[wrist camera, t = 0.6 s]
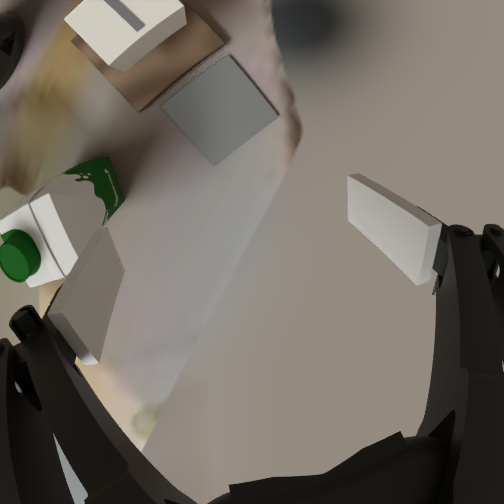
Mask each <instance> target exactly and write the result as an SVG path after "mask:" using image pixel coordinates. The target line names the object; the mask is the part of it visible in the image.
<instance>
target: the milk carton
mask: <svg viewBox="0 0 504 504" xmlns="http://www.w3.org/2000/svg"><path fill="white" fill-rule="evenodd" d="M123 202H124V199H123V197H122V194H121V191H120V189H119V186H118V183H117V180H116V177H115V175H114V172H113V169H112V166H111V163H110V160H109V157H106V158H102V159H98V160H94V161H90V162H86V163H83V164H80V165H77V166H75V167H73V168H71V169H69V170H67V171H65V172H63V173H61V174H60V175H58V176H56V177H55V178H53V179H51V180H50V181H48V182H47V183H45V184H43V185H42V186H40V187H39V188H37V189H36V190H34V191H33V192H31V193H30V194H29V195H27V196H26V197H25V198H24V199H22V200H21V201H20V202H18V203H17V204H16V205H15V206H14V207H13V208H11V209H10V210H9V211H8V212H7V213H6V214H5V215H4V216H3V217H2V218H1V219H0V233H1V237H2V239H3V241H4V243H3V244H2V245H1V246H0V267H1V269H2V271H3V272H4V273H5V275H6V276H7V277H8V278H9V279H11V280H13V281H15V282H19V283H20V282H24V281H26V282H27V284H28V285H29V287H30V288H31V287H35V286H38V285H41V284H44V283H47V282H50V281H53V280H58V279H61V278H63V277H65V276H66V275H68V274H69V273H70V271H71V269H72V268H73V266H74V264H75V262H76V261H77V259H78V257H79V256H80V254H81V253H82V251H83V249H84V248H85V246H86V245H87V243H88V242H89V240H90V238H91V237H92V235H93V234H94V232H95V231H97V230H101V229H102V228H103V226H104V225H105V224H106V222H107V221H108V220H109V219H110V217H111V216H112V215H113V214H114V212H115V211H116V210H117V209H118V208H119V207H120V205H121V204H122V203H123Z"/></svg>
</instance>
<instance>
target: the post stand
mask: <svg viewBox="0 0 504 504" xmlns="http://www.w3.org/2000/svg"><path fill="white" fill-rule="evenodd" d="M179 1H180V2H181V3H182V4H183V5H184V8H185V15H186V22H187V24H186V25H185V26H183V27H182V28H180V29H179V30H177V31H176V32H175V33H173V34H172V35H170V36H169V37H168V38H166V39H165V40H164V41H162V42H161V43H160V44H159V45H157V46H156V47H155V48H154V49H152V50H151V51H150V52H149V53H147V54H146V55H145V56H144V57H143V58H141V59H140V60H139V61H138V62H137V63H136V64H134V65H133V66H132V67H131V68H130V69H129V70H128V71H127V72H126V73H125V72H122V71H120V70H118V69H115V68H113V67H111V66H109V65H108V64H107V63H106V62H105V61H104V60H103V59H102V58H101V57H100V56H99V55H98V54H97V53H96V52H95V51H94V50H93V49H92V48H91V47H90V46H89V45H88V44H87V43H86V42H85V41H84V40H83V39H82V37H81V36H80V35H79V34H77V35H76V36H75V37H74V38H73V39H72V40H71V42H72V43H73V44H74V45H75V46H76V47H77V48H78V49H79V50H80V51H81V52H82V53H83V54H84V55H85V56H86V57H87V58H88V60H89V61H90V62H91V63H92V64H93V65H94V66H95V67H96V68H97V69H98V70H99V71H100V72H101V73H102V74H103V75H104V76H105V78H106V79H107V80H108V81H109V82H110V83H111V84H112V85H113V86H114V87H115V88H116V89H117V90H118V91H119V92H120V94H121V95H122V96H123V97H124V98H125V99H126V100H127V101H128V102H129V103H130V104H131V105H132V106H133V107H134V109H135V110H136V111H137V112H141V111H142V110H143V109H144V108H145V107H146V106H147V105H148V104H149V103H150V102H152V101H153V100H154V99H155V98H156V97H157V96H158V95H160V94H161V93H162V92H163V91H164V90H165V89H167V88H168V87H169V86H170V85H171V84H173V83H174V82H175V81H176V80H178V79H179V78H180V77H181V76H183V75H184V74H185V73H186V72H188V71H189V70H190V69H192V68H193V67H194V66H196V65H197V64H198V63H200V62H201V61H203V60H204V59H205V58H207V57H208V56H210V55H211V54H212V53H214V52H215V51H217V50H218V49H220V48H221V47H223V46H224V44H225V43H224V42H223V41H222V40H221V38H220V37H219V36H218V35H217V34H216V33H215V32H214V31H213V30H212V29H211V28H210V27H209V26H208V25H207V24H206V23H205V22H204V21H203V20H202V19H201V18H200V17H199V16H198V15H197V14H196V13H195V12H194V11H193V10H192V9H191V8H190V7H189V6H188V5H187V4H186V3H185V2H184V1H183V0H179Z"/></svg>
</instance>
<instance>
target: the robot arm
mask: <svg viewBox="0 0 504 504" xmlns="http://www.w3.org/2000/svg"><path fill="white" fill-rule="evenodd" d="M24 35H25V32H24V25H23V22H22V21H21V19H20V18H19V17H17V16H15V15H12V14H9V13H1V14H0V89H1V88H2V86H3V85H4V84H5V83H6V81H7V80H8V79H9V77H10V75H11V74H12V72H13V70H14V68H15V66H16V64H17V62H18V60H19V57H20V54H21V51H22V48H23V43H24ZM347 178H348V221H349V222H351V223H352V224H353V225H354V226H355V227H356V228H357V229H359V230H360V231H361V232H362V233H363V234H364V235H365V236H366V237H367V238H368V239H369V240H371V241H372V242H373V243H374V244H375V245H376V246H377V247H378V248H379V249H380V250H381V251H382V252H383V253H385V254H386V255H387V256H388V257H389V258H390V259H391V260H392V261H393V262H394V263H395V264H396V265H397V266H398V267H399V268H400V269H401V270H402V271H403V272H404V273H405V274H406V275H407V276H408V277H409V278H410V279H411V280H412V281H413V282H414V283H415V284H416V285H417V286H418V285H420V284H423V283H425V282H428V281H430V277H431V273H432V269H434V270H435V271H436V272H437V273H438V275H437V279H436V282H435V286H434V289H433V293H432V295H434V294H435V292H436V328H435V344H434V355H433V366H432V373H431V381H430V389H429V394H428V401H427V406H426V411H425V415H424V419H423V421H422V423H421V425H420V427H419V429H418V432H417V434H416V436H413V437H406V438H404V437H403V435H402V433H401V431H399V432H397V433H395V434H393V435H392V436H389V437H387V438H385V439H383V440H381V441H378V442H376V443H374V444H372V445H370V446H367V447H365V448H363V449H361V450H360V451H359V452H357V453H356V454H355V455H353V456H351V457H350V458H348V459H347V460H346V461H344V462H342V463H341V464H339V465H338V466H336V467H334V468H333V469H331V470H330V471H328V472H326V473H324V474H320V475H310V476H294V477H293V476H292V477H271V478H266V479H261V480H256V481H251V482H245V483H239V484H232V485H229V489H230V492H229V493H226V494H223V495H222V496H220V497H217V498H215V499H214V500H212V501H211V502H209V503H208V504H504V372H503V367H502V360H503V363H504V229H502V228H501V227H500V226H498V225H495V224H487V225H485V226H484V230H483V234H482V235H475V234H474V232H473V231H472V230H471V229H469V228H467V227H465V226H462V225H451V226H447V225H446V224H444V223H443V222H441V221H440V220H438V219H437V218H435V217H434V216H432V215H431V214H429V213H426V211H425V210H423V209H421V208H420V207H417V206H415V205H413V204H412V203H410V202H408V201H407V200H405V199H403V198H402V197H400V196H398V195H397V194H395V193H393V192H392V191H390V190H388V189H386V188H385V187H383V186H381V185H379V184H377V183H376V182H374V181H372V180H370V179H368V178H366V177H365V176H363V175H361V174H352V175H348V176H347ZM498 266H499V267H500V273H499V277H497V275H496V272H497V269H498ZM124 272H125V269H124V267H123V265H122V262H121V260H120V258H119V255H118V253H117V251H116V248H115V246H114V243H113V241H112V238H111V236H110V233H109V231H108V228H104V229H101V230H97V231H95V232H94V234H93V235H92V237H91V238H90V240H89V242H88V243H87V245H86V246H85V248H84V249H83V251H82V253H81V254H80V256H79V257H78V259H77V261H76V262H75V264H74V266H73V268H72V269H71V271H70V273H69V274H68V276H67V278H66V280H65V281H64V283H63V284H62V285H61V286H60V287H59V288H58V290H57V291H56V293H55V295H54V297H53V299H52V300H51V302H50V305H49V306H48V308H47V310H46V312H45V314H44V316H43V318H42V319H41V318H40V316H39V315H38V313H37V312H36V310H35V308H34V307H33V306H32V305H27V306H24V307H22V308H20V309H19V310H18V311H17V312H15V314H14V315H13V316H12V318H11V320H10V322H9V326H10V328H11V329H12V330H13V332H14V333H15V335H16V336H17V337H18V339H19V340H20V341H21V343H19V344H17V345H15V346H13V345H12V344H11V343H10V342H9V340H8V339H7V338H3V339H1V340H0V504H74V501H73V498H72V495H71V493H70V490H69V487H68V484H67V481H66V478H65V475H64V472H63V469H62V466H61V462H60V459H59V455H58V452H57V447H56V443H55V440H54V435H55V437H56V439H57V441H58V443H59V445H60V447H61V449H62V451H63V453H64V455H65V456H66V458H67V460H68V462H69V464H70V465H71V467H72V469H73V470H74V472H75V473H76V475H77V477H78V479H79V480H80V482H81V483H82V485H83V486H84V488H85V490H86V491H87V493H88V497H87V498H86V499H85V500H84V501H85V504H197V503H196V502H195V501H193V500H192V499H190V498H189V497H188V496H186V495H185V494H183V493H182V492H181V491H179V490H178V489H177V488H175V487H174V486H173V485H172V484H171V483H170V482H169V481H168V480H167V479H165V477H164V476H163V475H162V474H161V473H160V472H159V471H158V470H157V469H156V468H155V467H154V466H153V465H152V464H151V463H150V462H149V461H148V460H147V459H146V458H145V456H144V455H143V454H142V453H141V452H140V451H139V450H138V449H137V448H136V446H135V445H134V444H133V443H132V442H131V441H130V439H129V438H128V437H127V436H126V434H125V433H124V432H123V431H122V430H121V428H120V427H119V426H118V424H117V423H116V422H115V421H114V419H113V418H112V417H111V415H110V414H109V413H108V411H107V410H106V408H105V407H104V406H103V404H102V403H101V401H100V400H99V399H98V397H97V396H96V394H95V393H94V391H93V390H92V388H91V387H90V385H89V384H88V382H87V380H86V379H85V377H84V376H83V374H82V372H81V371H80V369H79V368H78V367H77V365H76V364H75V359H76V356H77V357H78V358H79V359H80V360H81V362H82V363H83V364H84V365H89V364H99V362H100V357H101V353H102V349H103V345H104V341H105V337H106V333H107V329H108V325H109V321H110V318H111V314H112V311H113V307H114V304H115V301H116V297H117V294H118V291H119V288H120V284H121V281H122V278H123V275H124ZM18 391H19V392H18ZM53 433H54V435H53Z"/></svg>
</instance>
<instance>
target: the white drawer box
mask: <svg viewBox="0 0 504 504" xmlns="http://www.w3.org/2000/svg"><path fill="white" fill-rule="evenodd" d="M64 20H65V21H66V22H67V23H68V24H69V25H70V26H71V27H72V28H73V29H74V30H75V31H76V32H77V33H78V34H79V35H80V36H81V37H82V39H83V40H84V41H85V42H86V43H87V44H88V45H89V46H90V47H91V48H92V49H93V50H94V51H95V52H96V53H97V54H98V55H99V56H100V57H101V58H102V59H103V60H104V61H105V62H106V63H107V64H108V65H109V66H111V67H113V68H115V69H118V70H120V71H122V72H125V73H126V72H127V71H128V70H129V69H130V68H131V67H132V66H133V65H134V64H136V63H137V62H138V61H139V60H140V59H141V58H143V57H144V56H145V55H146V54H147V53H149V52H150V51H151V50H152V49H154V48H155V47H156V46H157V45H159V44H160V43H161V42H162V41H164V40H165V39H166V38H168V37H169V36H170V35H172V34H173V33H175V32H176V31H177V30H179V29H180V28H182V27H183V26H185V25H186V24H187V22H186V15H185V8H184V5H183V4H182V3H181V2H180V1H179V0H84V1H83V2H81V3H80V4H79V5H78V6H77V7H76V8H75V9H74V10H73V11H72V12H71V13H70V14H69V15H68V16H66V17H65V18H64Z"/></svg>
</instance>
